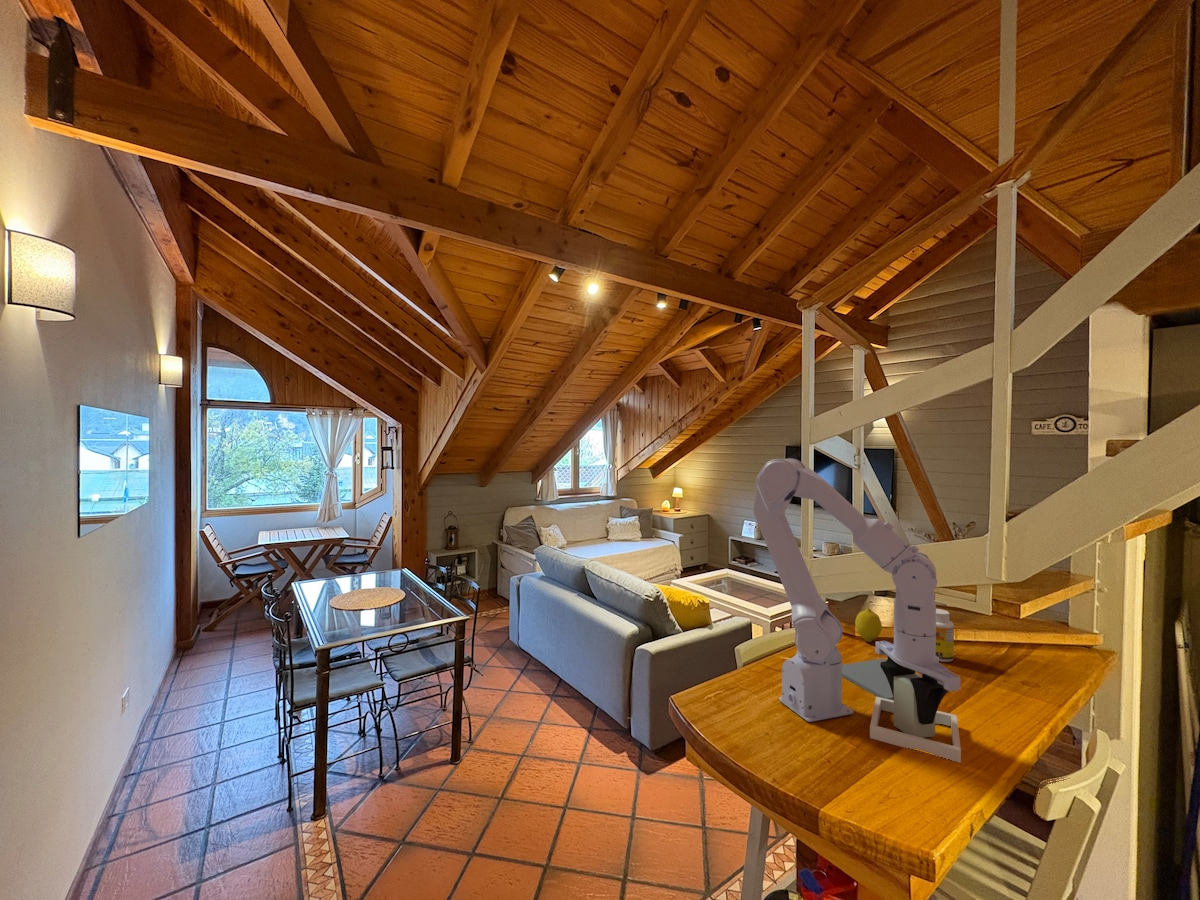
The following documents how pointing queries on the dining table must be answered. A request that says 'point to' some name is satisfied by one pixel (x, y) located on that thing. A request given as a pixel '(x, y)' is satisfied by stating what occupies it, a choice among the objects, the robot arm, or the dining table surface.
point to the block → (908, 709)
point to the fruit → (868, 625)
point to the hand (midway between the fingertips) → (914, 715)
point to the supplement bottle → (944, 636)
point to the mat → (869, 677)
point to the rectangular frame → (914, 741)
